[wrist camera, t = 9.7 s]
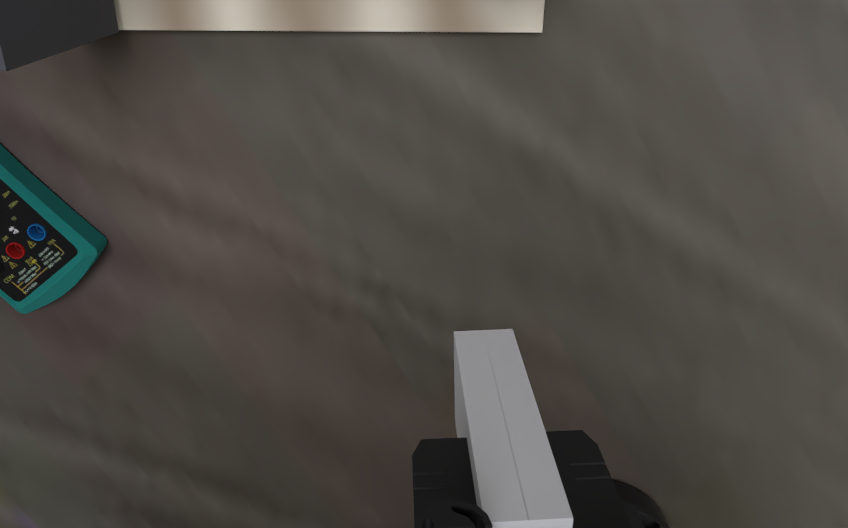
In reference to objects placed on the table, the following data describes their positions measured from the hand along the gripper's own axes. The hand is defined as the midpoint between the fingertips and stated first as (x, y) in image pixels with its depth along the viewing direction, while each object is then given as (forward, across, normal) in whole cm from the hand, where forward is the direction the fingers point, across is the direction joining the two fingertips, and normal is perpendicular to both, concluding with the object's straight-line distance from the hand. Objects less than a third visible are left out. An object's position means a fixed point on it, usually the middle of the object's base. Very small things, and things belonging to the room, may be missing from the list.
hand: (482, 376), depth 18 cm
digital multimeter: (+28, +28, +2) cm, 39 cm away
